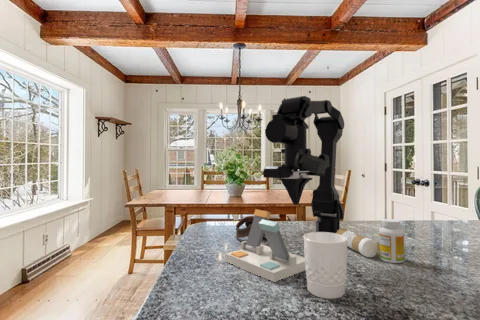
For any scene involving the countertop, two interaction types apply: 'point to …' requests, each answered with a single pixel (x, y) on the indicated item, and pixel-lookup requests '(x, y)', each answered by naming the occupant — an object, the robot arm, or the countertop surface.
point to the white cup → (325, 264)
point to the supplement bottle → (391, 241)
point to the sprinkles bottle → (359, 243)
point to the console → (265, 262)
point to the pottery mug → (246, 230)
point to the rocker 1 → (256, 230)
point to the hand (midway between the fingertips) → (295, 204)
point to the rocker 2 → (275, 240)
